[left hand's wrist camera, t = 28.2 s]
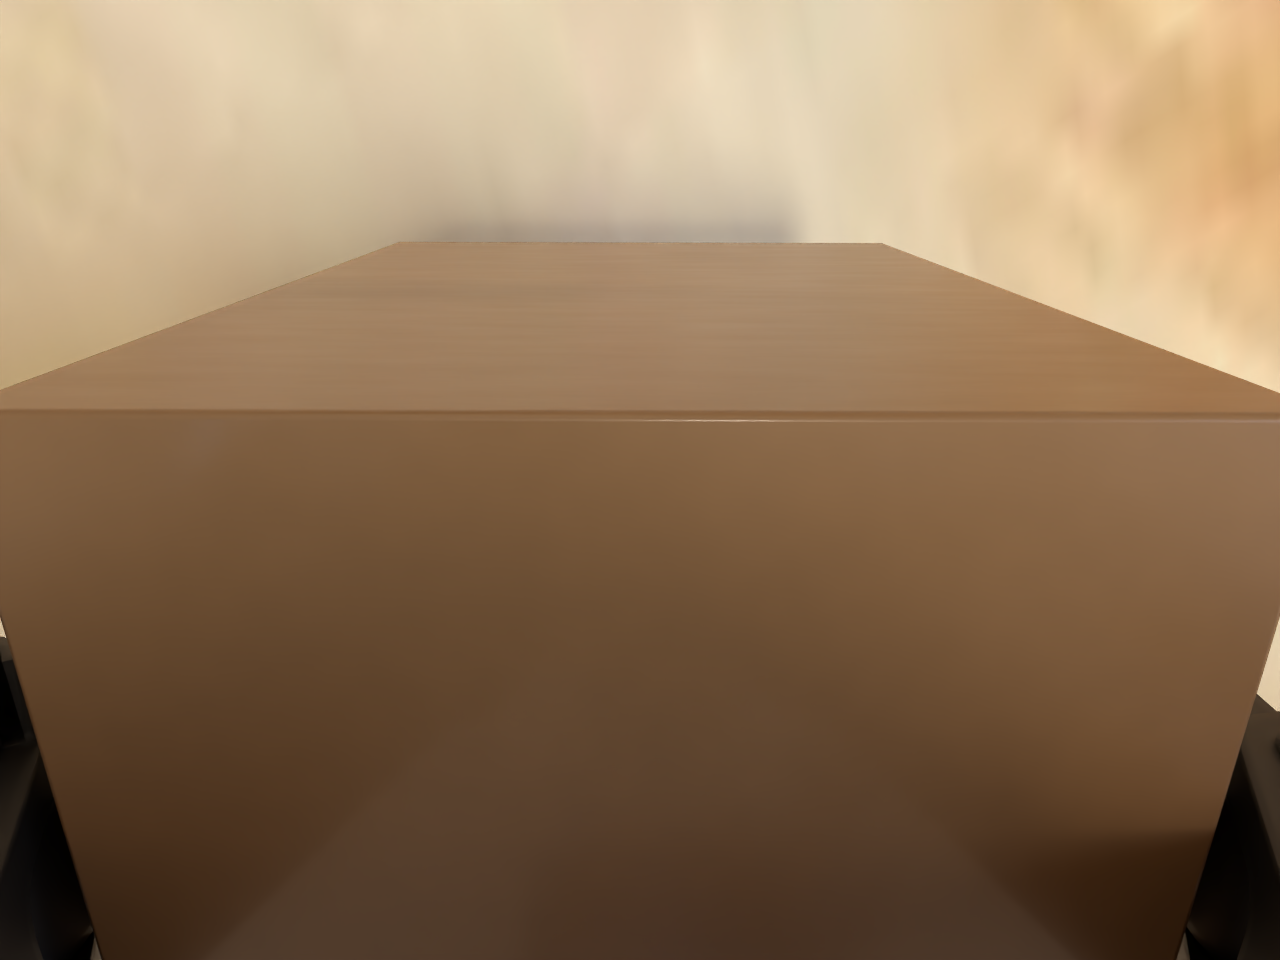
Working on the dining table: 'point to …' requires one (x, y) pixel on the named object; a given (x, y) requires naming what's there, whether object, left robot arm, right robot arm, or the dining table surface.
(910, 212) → the dining table surface
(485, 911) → the block
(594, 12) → the dining table surface
